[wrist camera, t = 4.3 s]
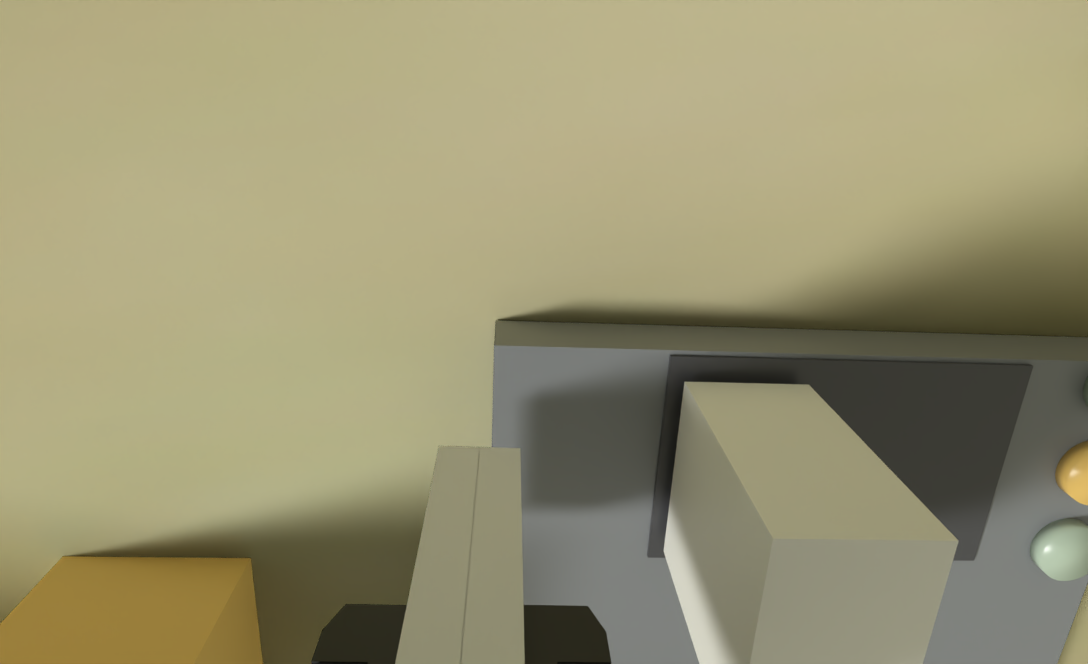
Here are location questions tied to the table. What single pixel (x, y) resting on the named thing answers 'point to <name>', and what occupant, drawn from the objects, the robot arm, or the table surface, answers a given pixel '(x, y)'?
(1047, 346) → the panel
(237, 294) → the table surface
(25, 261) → the table surface
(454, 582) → the robot arm
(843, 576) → the block
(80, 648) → the yellow rectangular block
